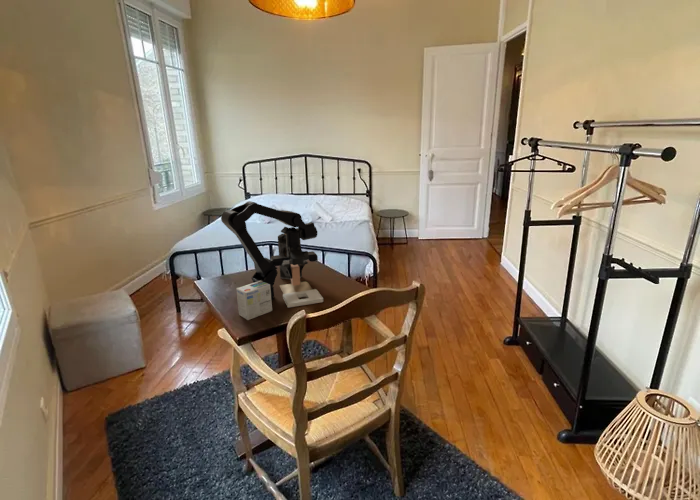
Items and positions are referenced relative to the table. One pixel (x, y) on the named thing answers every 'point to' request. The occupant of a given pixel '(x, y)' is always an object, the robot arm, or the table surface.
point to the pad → (295, 287)
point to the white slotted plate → (293, 299)
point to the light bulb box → (254, 299)
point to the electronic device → (283, 253)
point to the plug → (295, 274)
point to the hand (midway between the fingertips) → (295, 277)
